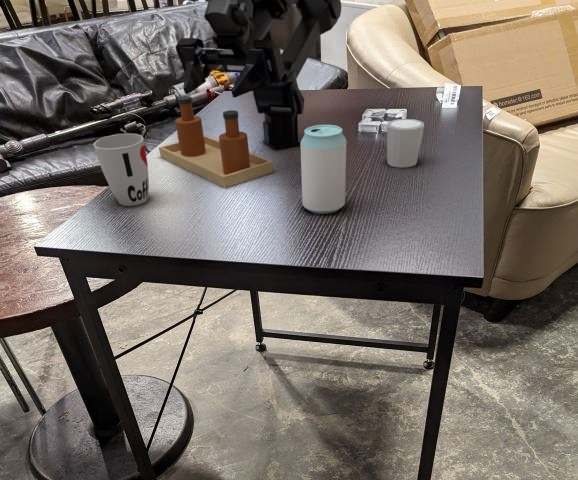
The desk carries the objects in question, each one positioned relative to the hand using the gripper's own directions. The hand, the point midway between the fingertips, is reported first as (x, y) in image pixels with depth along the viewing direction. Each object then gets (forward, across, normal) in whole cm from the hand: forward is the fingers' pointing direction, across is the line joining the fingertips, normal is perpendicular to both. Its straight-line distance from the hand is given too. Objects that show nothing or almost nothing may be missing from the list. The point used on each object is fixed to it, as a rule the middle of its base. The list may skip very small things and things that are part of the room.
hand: (208, 93), depth 86 cm
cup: (+16, -12, +10) cm, 22 cm away
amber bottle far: (-7, -15, +19) cm, 25 cm away
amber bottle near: (0, 0, +16) cm, 17 cm away
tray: (-4, -8, +18) cm, 20 cm away
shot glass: (-14, +28, +23) cm, 39 cm away
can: (+8, +21, +14) cm, 26 cm away
